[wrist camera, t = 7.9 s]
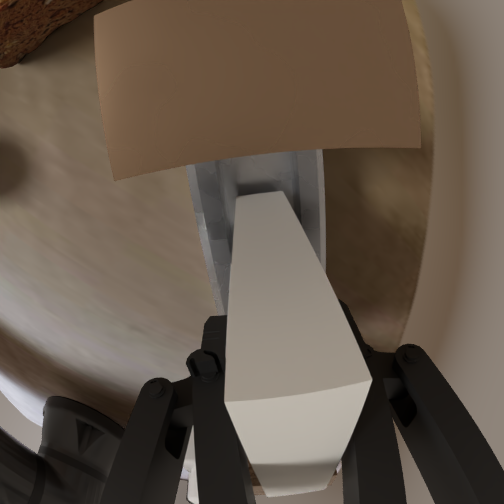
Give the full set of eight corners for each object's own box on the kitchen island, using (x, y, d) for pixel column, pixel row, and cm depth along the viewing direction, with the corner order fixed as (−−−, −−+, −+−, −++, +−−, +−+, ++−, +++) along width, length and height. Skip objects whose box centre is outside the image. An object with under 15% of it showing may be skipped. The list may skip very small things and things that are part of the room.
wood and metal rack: (319, 351, 24) (353, 479, 12) (232, 362, 24) (231, 495, 12) (311, 77, 14) (458, 12, 2) (177, 93, 14) (28, 52, 3)
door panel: (291, 319, 19) (325, 489, 8) (255, 324, 19) (266, 497, 8) (282, 190, 15) (372, 379, 4) (236, 196, 15) (224, 401, 4)
